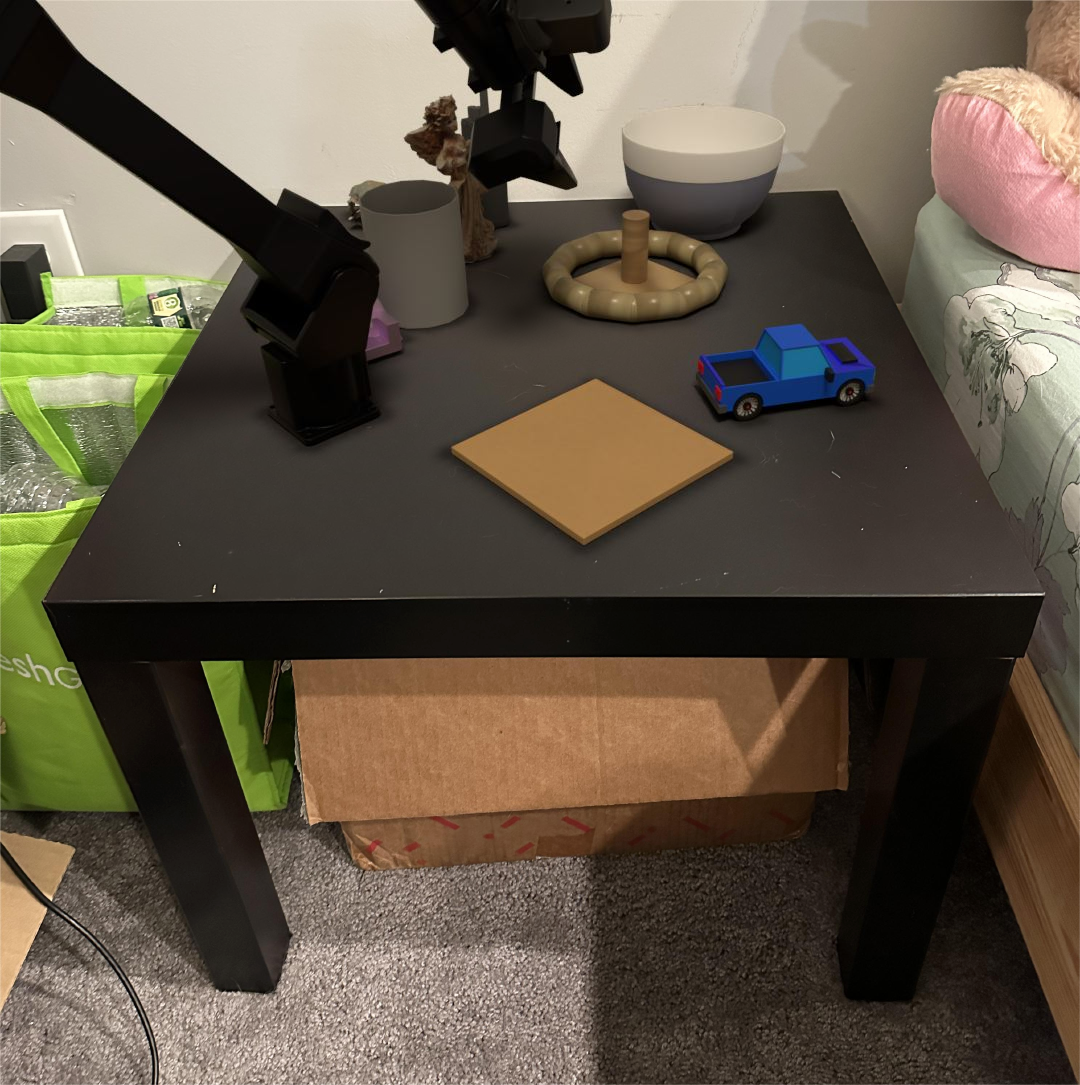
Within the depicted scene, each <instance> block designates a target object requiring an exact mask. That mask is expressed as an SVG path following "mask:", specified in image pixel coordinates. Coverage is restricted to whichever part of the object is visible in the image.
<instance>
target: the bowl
mask: <svg viewBox="0 0 1080 1085" xmlns="http://www.w3.org/2000/svg"><path fill="white" fill-rule="evenodd" d="M786 133H787V129H786V127H785V125H784V124H783V122H781V121H780V120H779V119H778V118H775V117H773V116H772V115H769V114H767V113H763V112H761V111H755V110H751V109H749V108H742V107H736V106H725V105H707V104H706V105H683V106H681V105H680V106H674V107H673V106H671V107H664V108H658V109H655V110H649V111H646V112H643V113H639V114H637V115H635V116H633V117H631V118H630V119H628V120H627V121H626V122H625V123H624V124H623V126H622V127H621V144H622V146H621V147H622V162H623V168H624V173H625V180H626V185H627V187H628V189H629V191H630V193H631V195H632V198H633V199H634V202H635V204H636V206H637V207H638V210H643V211H646V212H648V213H649V215H650V217H649V221H651V224H652V227H653V228H654V230H657V231H667V232H676V233H679V234H682V235H684V236H687V237H690V238H692V239H695V240H698V241H700V242H704V241H715V240H720V239H723V238H726V237H729V236H731V235H733V234H735V233H737V232H738V231H739V229H740V228H741V224H743V223H744V222H745V221H746V220H748V219H749V218H750V217H752V216H753V215H754V214H755V213H756V212H757V211H758V210H759V208H760V207H761V205H762V204H763V202H764V201H765V199H766V197H767V196H768V194H769V193H770V191H771V190H772V188H773V185H774V182H775V179H776V175H777V173H778V170H779V166H780V163H781V160H782V155H783V149H784V144H785V140H786V139H785V138H786Z"/></svg>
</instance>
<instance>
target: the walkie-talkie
mask: <svg viewBox="0 0 1080 1085" xmlns="http://www.w3.org/2000/svg"><path fill="white" fill-rule="evenodd" d="M488 90H489V89H486V90H484V91H482V92H479V93H478V94H479V105H468V106H467V107H466V108H467V117H463V118H461V119H460V131H461V133H460V134H461V135H462V136H463V137H464V139H465V141H467V140H468V139H469V140H471V133H472V128H473V124H474V120H475V119H477V118H479V117H482V116H484V115H486V114H489V113H490V105H489V92H488ZM508 191H509V190H508V182H507V183H504V184H501V185H499V186H496V187H493V188H491V189H489V191H488V193H487V194H486V195H484V196H483V198H482V200H481V205H482V207H483V209H484V212H483V217H484V218H485V219H487V220H488V221H491V222H492V223H493V225H494V230H495V229H499V228H503V227H507V226H509V225H510V212H509V196H508V195H509V192H508Z"/></svg>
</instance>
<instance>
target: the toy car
mask: <svg viewBox="0 0 1080 1085" xmlns="http://www.w3.org/2000/svg"><path fill="white" fill-rule="evenodd" d="M876 368H877V367H875V365H874V364H873V363H872V362H871V361H870V360H869V359H868V358H867V357H866V356H865V355H864V354H863V353H862V352H861V351H860V350H859V349H858V348H857V347H856V346H855V345H854V344H853V342H851V340H849V338H847V336H845V337H836V338H828V339H821V340H817V339H816V338H815V337H814V336H813V334H812V333H811V332H809V330H808V329H807V328H806V327H805V326H804V325H803V324H802V323H795V324H788V325H780V326H773V327H765V328H764V329H763V331H762V333H761V335H760V337H759V340H758V341H757V344H756V346H755V348H752V349H745V350H738V351H730V352H722V353H721V352H720V353H714V354H706V355H705V354H703V353H702V354H700V356H699V359H698V361H697V370H698V371H696V372H695V380H696V382H697V383H698V385H699V386H700V388H701V389H702V391H703V393H704V394H705V395H706V397H707V398H708V401H709V402H710V403H711V405H712V406H713V408H714V409H715V411H716V413H717V414H718V415H720V414H726V413H727V412H732V414H733V415H734V416H735V418H736V419H737V420H739V421H745V422H746V421H750V420H752V419H754V418H756V417H757V416H758V415H759V414H760V412H761V411H762V408H765V407H770V406H778V405H785V404H792V403H793V404H794V403H799V402H800V403H801V402H807V401H814V400H821V399H829V398H834V399H835V400H836V401H837V402H838V404H840V405H842V406H846V407H847V406H852V405H854V404H856V403H857V402H859V400H861V399H862V397H863V395H864V393H865V394H871V393H874V392H875V387H876V385H875V384H874V381H875V376H876Z"/></svg>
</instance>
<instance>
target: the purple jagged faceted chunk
mask: <svg viewBox="0 0 1080 1085" xmlns="http://www.w3.org/2000/svg"><path fill="white" fill-rule="evenodd" d="M400 328H401V327H399V322H398V321H397V320H396V319H394V318H393V317H392V316H391V315H389V314H388V313H387V312H386V311H385V309H384V307H383V306H382V304H381V302H380V301H379V299H378V297H377V299H376V301H375V303H374V305H373V311H372V317H371V324H370V330H369V336H368V342H367V348H366V350H365V352H366V358H367V362H368V361H371V360H375V359H377V358H380V357H384V356H387V355H390V354H393V353H396V352H399V351H402V350H403V343H402V341H404V338H403V337H402V335H401V329H400Z"/></svg>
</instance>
